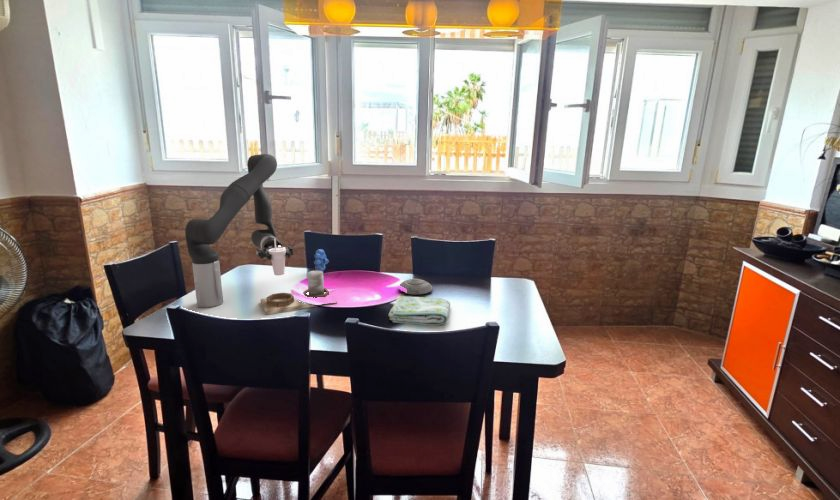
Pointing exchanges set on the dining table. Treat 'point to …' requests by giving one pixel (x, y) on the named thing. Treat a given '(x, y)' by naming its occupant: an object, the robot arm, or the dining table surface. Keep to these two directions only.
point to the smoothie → (278, 259)
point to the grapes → (320, 260)
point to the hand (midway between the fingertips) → (279, 256)
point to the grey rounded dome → (416, 286)
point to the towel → (420, 310)
